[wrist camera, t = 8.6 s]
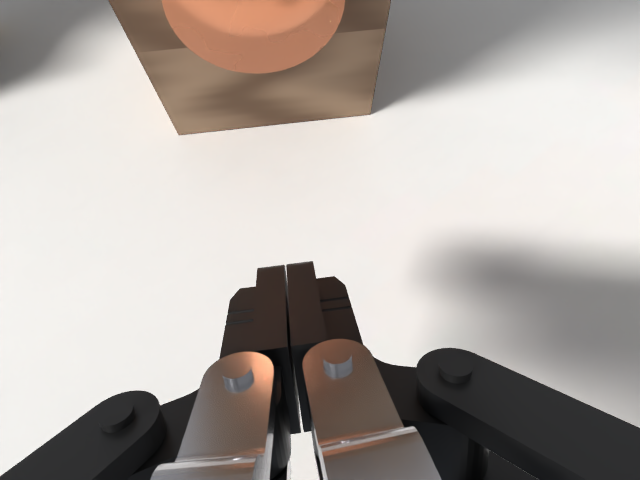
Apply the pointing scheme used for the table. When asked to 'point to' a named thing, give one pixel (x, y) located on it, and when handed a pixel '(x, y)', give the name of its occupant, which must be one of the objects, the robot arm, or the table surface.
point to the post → (258, 89)
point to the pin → (254, 30)
